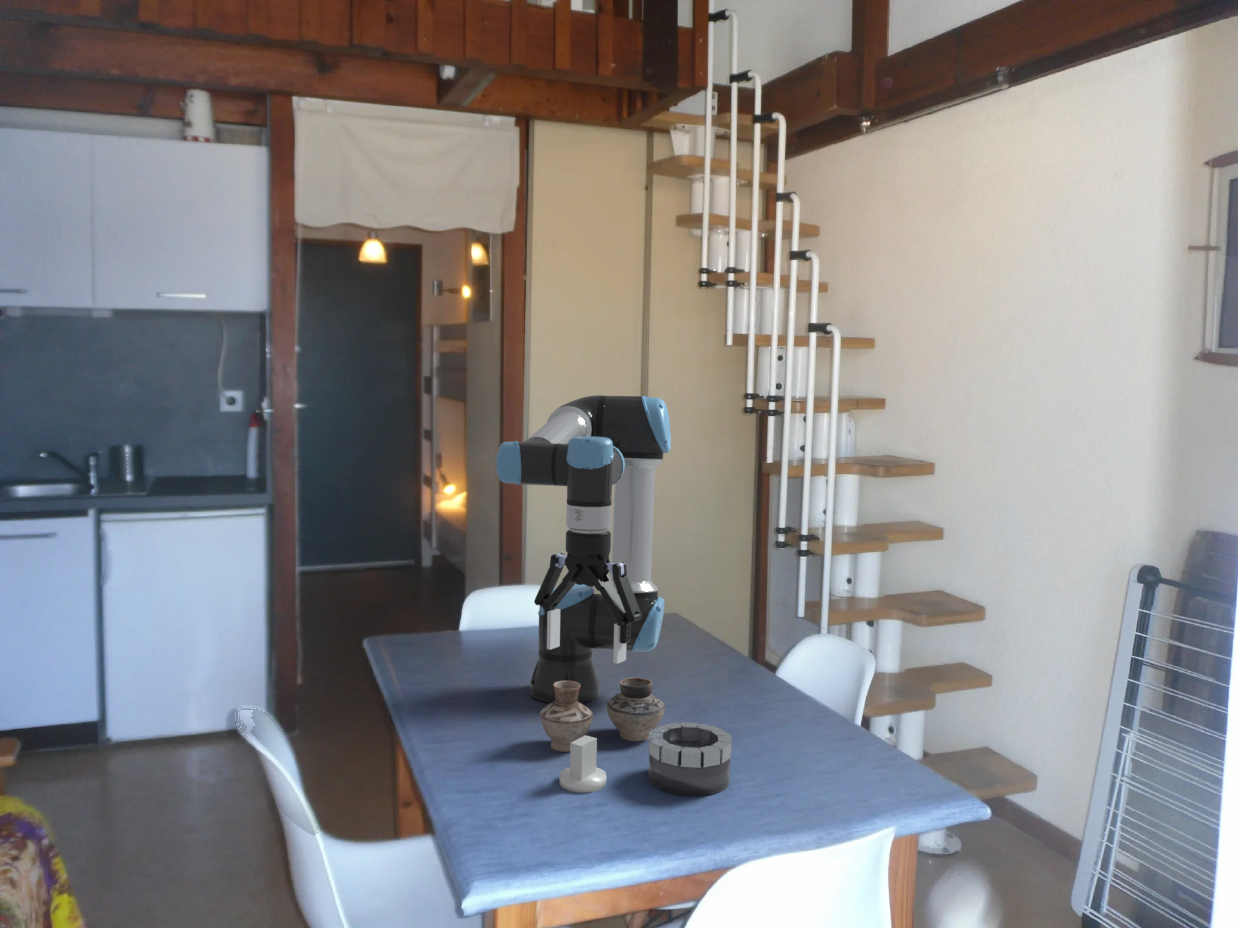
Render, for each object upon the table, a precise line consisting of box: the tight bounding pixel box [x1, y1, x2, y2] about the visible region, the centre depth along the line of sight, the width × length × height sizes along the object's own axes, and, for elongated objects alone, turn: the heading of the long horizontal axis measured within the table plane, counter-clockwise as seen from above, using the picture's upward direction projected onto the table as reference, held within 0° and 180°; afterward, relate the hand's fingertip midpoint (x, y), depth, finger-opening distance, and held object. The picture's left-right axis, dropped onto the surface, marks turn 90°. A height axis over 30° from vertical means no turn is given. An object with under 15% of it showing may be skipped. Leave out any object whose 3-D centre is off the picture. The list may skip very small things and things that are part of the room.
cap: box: [558, 734, 607, 794], centre depth 170 cm, size 8×8×8 cm
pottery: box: [539, 677, 666, 753], centre depth 189 cm, size 11×25×12 cm, turn 116°
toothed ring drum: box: [648, 721, 733, 797], centre depth 173 cm, size 14×14×8 cm
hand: (585, 654), depth 168 cm, fingers open, 13 cm apart
